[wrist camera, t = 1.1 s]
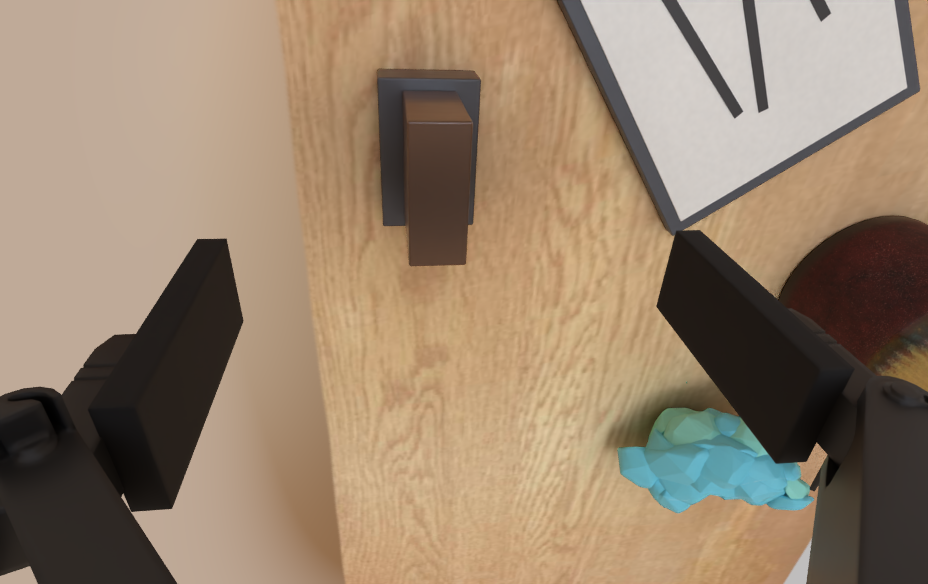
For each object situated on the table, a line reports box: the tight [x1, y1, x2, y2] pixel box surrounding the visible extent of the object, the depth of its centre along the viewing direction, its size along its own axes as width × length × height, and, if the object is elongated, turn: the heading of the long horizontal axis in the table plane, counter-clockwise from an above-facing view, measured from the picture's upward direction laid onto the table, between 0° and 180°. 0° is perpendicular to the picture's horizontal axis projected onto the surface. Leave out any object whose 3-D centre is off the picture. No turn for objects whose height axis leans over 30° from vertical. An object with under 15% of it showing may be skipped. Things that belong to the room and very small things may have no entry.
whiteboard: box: [557, 0, 920, 236], centre depth 26 cm, size 18×14×1 cm
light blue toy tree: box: [617, 382, 814, 513], centre depth 40 cm, size 11×9×15 cm
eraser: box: [377, 69, 481, 266], centre depth 25 cm, size 7×4×7 cm, turn 178°
